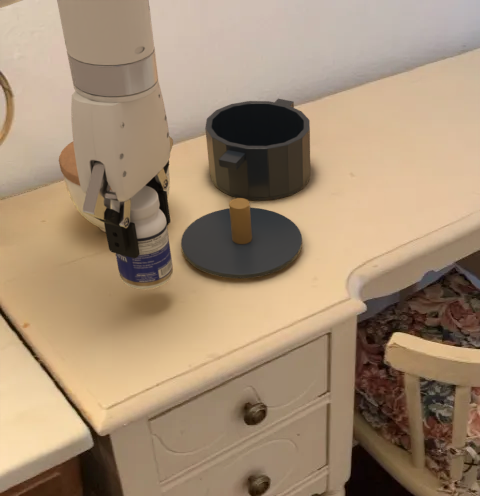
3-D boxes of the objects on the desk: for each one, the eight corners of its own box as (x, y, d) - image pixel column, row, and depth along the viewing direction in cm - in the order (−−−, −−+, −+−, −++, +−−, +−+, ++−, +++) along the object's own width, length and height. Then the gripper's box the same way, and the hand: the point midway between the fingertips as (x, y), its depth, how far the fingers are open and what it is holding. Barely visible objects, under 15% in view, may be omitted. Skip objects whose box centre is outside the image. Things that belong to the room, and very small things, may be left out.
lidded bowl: (185, 197, 110) (175, 117, 103) (165, 251, 101) (152, 168, 94) (90, 191, 110) (73, 111, 102) (60, 244, 101) (39, 161, 93)
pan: (184, 198, 110) (177, 145, 105) (244, 135, 123) (241, 86, 118) (279, 219, 108) (277, 166, 102) (330, 153, 121) (331, 103, 116)
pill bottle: (115, 265, 92) (100, 185, 85) (167, 256, 94) (156, 177, 87) (125, 296, 89) (111, 215, 82) (179, 286, 90) (169, 206, 83)
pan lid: (160, 266, 99) (153, 221, 95) (215, 205, 109) (210, 162, 105) (274, 294, 96) (271, 249, 92) (319, 229, 106) (319, 186, 102)
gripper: (126, 27, 82) (149, 190, 94) (20, 99, 70) (62, 274, 83) (196, 42, 80) (210, 205, 93) (99, 117, 69) (130, 292, 81)
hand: (140, 236), depth 88 cm, fingers closed on pill bottle, 5 cm apart
